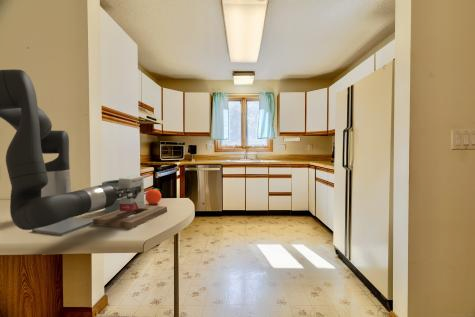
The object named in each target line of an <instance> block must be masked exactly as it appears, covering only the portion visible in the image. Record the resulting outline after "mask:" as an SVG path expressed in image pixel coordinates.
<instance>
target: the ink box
mask: <svg viewBox="0 0 475 317" xmlns="http://www.w3.org/2000/svg"><path fill="white" fill-rule="evenodd" d="M118 180H119V188H124V187H127V188H132V187H138V186H141V192H139V193H138V195H137V196H135V197H133V198H130V199H127V198H122V199H120V200H119V204H120V211H134V210H136V209H138V208H140V207H143V206H144V205H145V189H144V187H145V185H144V175H143V176H142V175H129V176H123V177H119V178H118ZM124 191H125V190H124Z"/></svg>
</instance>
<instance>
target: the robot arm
mask: <svg viewBox="0 0 475 317" xmlns="http://www.w3.org/2000/svg"><path fill="white" fill-rule="evenodd" d="M0 119H2V120H4V121H6V123H7V124H9V126H11V127H12V128H14V130H16V132H15V134H14V136H13V138H11V139H12V140H11V141H10V143H9V144H8V146H7V150H6V153H5V166H6V168H7V174H8V178H9V182H10V185H11V191H10V204H9V211H10V212H9V213H10V218H11V220H12V222H13V224H14V225H15V227H17V228H18V229H20V230H23V231H32V229H36V228H41V227H45V226H49V225H52V224H55V223H58V222H61V221H63V220H66V219H68V218H72V217H75V218H77V217H79V216H82V215H85V214H90V213H94V212H96V211H97V212H98V211H100V210H103V209H105V208H107V207H110V206H112V205H113V204H114V203H115V201H116V200H120V199H122V198H127V199H130V198H133V197H135V196H137V195H138V193H139V192H141V186H138V187H132V188H127V187H124V188H119V187H112V186H110V185H108V184H104V185H102V184H99V185H94V186H90V187H85V188H83V189H78V190H73V191H72V186H71V169H70V168H71V167H70V139H69V133H68V132H67V131H65V130H53V129H52V127H53V125H52V124H53V123H52V121H51V119H50V117H49V116H48V115H47V113H46V112H45V111H44V110H43V109H41V108H40V107H39V106H38V99H37V93H36V89H35V86H34V83H33V80H32V79H31V77H30V76H29V74H27V72H26V71H24V70H22V69H13V68H12V69H0ZM43 154H44V155H45V154H46V155H48V154H49V155H50V154H51V155H52V154H56V155H57V154H58V155H57V157H55V158H54V159H53V160H49V161H47V162H45V159H44V157H43V156H44V155H43ZM124 190H125V191H124Z"/></svg>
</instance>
